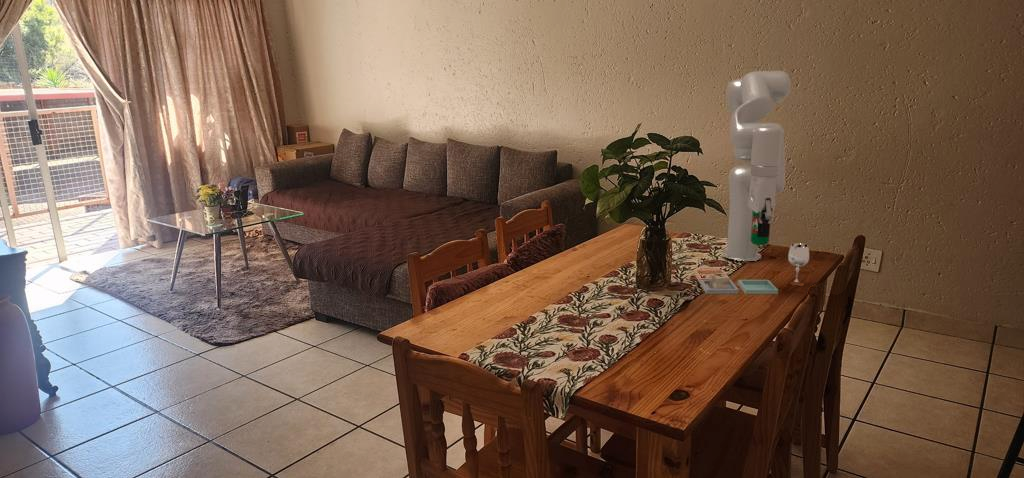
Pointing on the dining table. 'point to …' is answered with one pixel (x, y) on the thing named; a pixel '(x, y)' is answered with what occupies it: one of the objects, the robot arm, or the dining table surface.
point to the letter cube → (719, 281)
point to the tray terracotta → (697, 272)
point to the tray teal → (757, 287)
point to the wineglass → (798, 256)
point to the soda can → (754, 225)
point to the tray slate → (708, 290)
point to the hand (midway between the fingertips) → (760, 233)
